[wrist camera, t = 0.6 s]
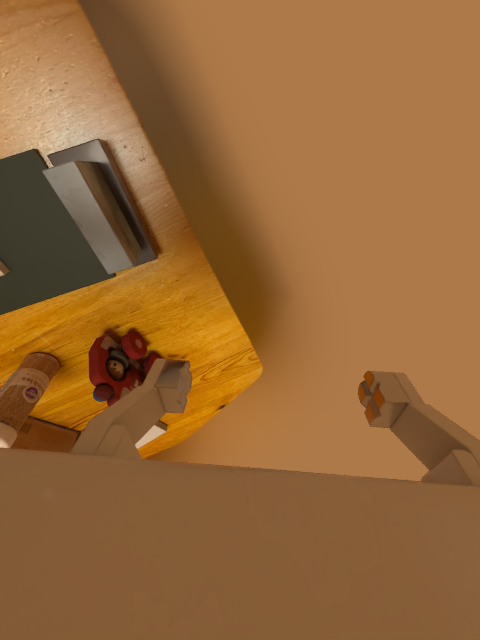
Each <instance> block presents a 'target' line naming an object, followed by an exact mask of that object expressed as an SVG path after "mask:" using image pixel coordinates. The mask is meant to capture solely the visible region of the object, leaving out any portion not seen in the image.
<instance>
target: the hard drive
mask: <svg viewBox="0 0 480 640" xmlns="http://www.w3.org/2000/svg"><path fill="white" fill-rule="evenodd" d="M166 431H167V425H166V424H164V423H162V422H160V421H158V422H157V423H156V424H155V425H154V426H153V427H152V428H151V429H150V430H149V431H148V432H147V433H146V434H145V435H144V436H143V437H142V438H141V439H140V440H139V441H138V442H137V443H136V444H135V446H136V448H137V449H138V448H140V447H141V446H143V445H145V444H146V443H148V442H150V441H151V440H153V439H155V438H156V437H158V436H160V435H161V434H163V433H165V432H166Z"/></svg>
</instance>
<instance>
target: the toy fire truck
mask: <svg viewBox="0 0 480 640" xmlns="http://www.w3.org/2000/svg"><path fill="white" fill-rule="evenodd" d="M146 352H147V347H146V344H145V342H144V340H143V338H142V337H141V336H140V335H139V334H138V333H136V332H130V333H128V334H127V335H125V336H123V338H122V343H121V344H120V345H119V344H117V343H116V342H115V341H114V340H113V339H112V338H111V337H110V336H108V335H103V336H101V337H99V338H97V339H96V340H95V342H94V344H93V345H92V347H91V349H90V351H89V379H90V381H91V383H92V384H93V385H94V386H96V388H95V389H94V392H93V397H94V399H95V400H97V401H99V402H103V401H106V400H107V404H108V406H109V407H110V406H111V405H113V404H114V403H115V402H117V401H118V400H120V399H121V398H122V397H124V396H125V395H127V394H128V393H129V392H131V391H132V390H134V389H135V388H136V387H138V386H142V385H143V383H144V381H145V379H146V377H147V375H148V373H149V371H150V369H151V367H152V365H153V363H154V361H155V360H156V359H157V358H159V359H161V358H160V357H159V356H158V355H156V354H151V355H149V356H147V357H146V358H145V359H144V361H143V366H141V365H140V364H139V363H138V362H137V361H136V360H137V359H140V358H141V357H144V356H145V355H146Z"/></svg>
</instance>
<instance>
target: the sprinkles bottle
mask: <svg viewBox="0 0 480 640" xmlns="http://www.w3.org/2000/svg"><path fill="white" fill-rule="evenodd" d="M59 367H60V365H59V363H58V361H57V359H55V358H54V357H53V356H51V355H49V354H45V353H34V354H30V355H28V356H27V357H26V358H25V359H24V361H23V363H22V364H21V365H20V367H19V368H18V369H17V370H16V371H15V372H14V373H13V374H12V375H11V377H10V378H9V379H8V380H7V381H6V383H5V384H4V385H3V386H2V388H1V389H0V447H2V448H10V447H11V446H12V444H13V443H14V441H15V440H16V438H17V434H18V431H19V430H20V428H21V427H22V425H23V423H24V422H25V420H26V419H27V417H28V416H29V414H30V413H31V411H32V410H33V408H34V406H35V405H36V404H37V402H38V401H39V400H40V398H41V396H42V395H43V393H44V392H45V390H46V389H47V387H48V385H49V383H50V381H51V379H52V378H53V376H54V375H55V373H56V372H58V370H59Z"/></svg>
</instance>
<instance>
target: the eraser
mask: <svg viewBox="0 0 480 640" xmlns="http://www.w3.org/2000/svg"><path fill="white" fill-rule="evenodd" d="M47 156H48V158H49V159H50V161H51V163H52V164H53V166H54V167H51V168H48V169H45V170H43V171H42V172H43V174H44V175H45V177H46V178H47V180H48V181H49V183H50V184H51V186H52V188H53V189H54V191H55V192H56V194H57V195H58V197H59V198H60V200H61V201H62V203H63V205H64V206H65V208H66V209H67V211H68V212H69V214H70V215H71V217H72V218H73V220H74V222H75V223H76V225H77V226H78V228H79V229H80V231H81V232H82V234H83V235H84V237H85V239H86V240H87V242H88V243H89V245H90V246H91V248H92V249H93V251H94V252H95V254H96V256H97V257H98V259H99V260H100V262H101V263H102V265H103V266H104V268H105V270H106V271H107V273H108V274H113V273H116V272H119V271H122V270H125V269H128V268H131V267H134V266H137V265H140V264H143V263H146V262H149V261H152V260H155V259H157V258H158V255H159V251H158V249H157V247H156V245H155V243H154V241H153V239H152V237H151V235H150V232H149V230H148V228H147V226H146V224H145V222H144V220H143V218H142V216H141V214H140V212H139V209H138V207H137V205H136V203H135V201H134V199H133V197H132V195H131V193H130V191H129V189H128V187H127V184H126V182H125V180H124V178H123V176H122V174H121V172H120V170H119V168H118V166H117V164H116V162H115V159H114V157H113V155H112V153H111V151H110V149H109V147H108V145H107V143H106V141H104V140H100V139H95V140H92V141H89V142H86V143H83V144H80V145H77V146H74V147H71V148H68V149H65V150H61V151H58V152H55V153H52V154H49V155H47Z"/></svg>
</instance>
